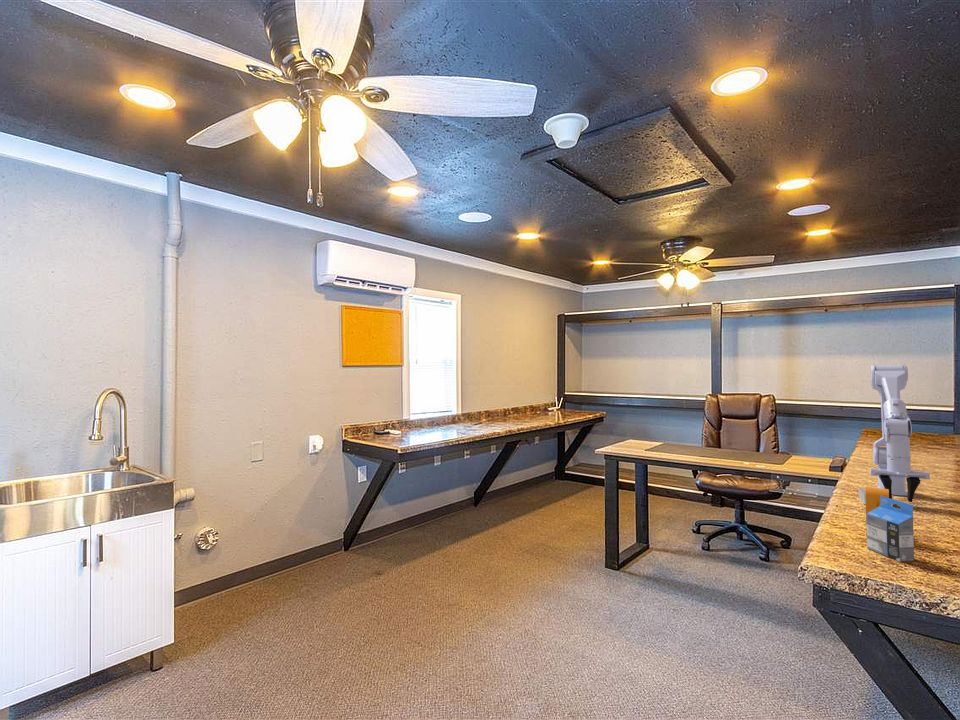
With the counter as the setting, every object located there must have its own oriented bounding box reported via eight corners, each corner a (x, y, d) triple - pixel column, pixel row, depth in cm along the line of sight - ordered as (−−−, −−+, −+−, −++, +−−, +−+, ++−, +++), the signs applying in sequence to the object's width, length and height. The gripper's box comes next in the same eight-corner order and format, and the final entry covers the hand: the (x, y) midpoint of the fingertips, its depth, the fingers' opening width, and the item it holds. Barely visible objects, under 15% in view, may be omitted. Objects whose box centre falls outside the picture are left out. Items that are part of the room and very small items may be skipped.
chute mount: (858, 498, 170) (858, 487, 170) (885, 500, 167) (885, 489, 167) (864, 504, 161) (864, 493, 161) (892, 507, 158) (892, 495, 158)
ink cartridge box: (865, 548, 121) (864, 495, 121) (881, 548, 121) (879, 495, 122) (899, 562, 112) (897, 505, 113) (916, 561, 112) (914, 504, 113)
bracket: (904, 545, 124) (902, 494, 124) (866, 539, 128) (865, 490, 128) (902, 534, 132) (901, 487, 132) (867, 529, 136) (865, 483, 137)
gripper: (872, 457, 161) (873, 500, 161) (932, 460, 155) (933, 505, 154) (867, 453, 168) (869, 496, 167) (925, 456, 161) (926, 500, 160)
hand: (899, 500), depth 161 cm, fingers open, 4 cm apart
